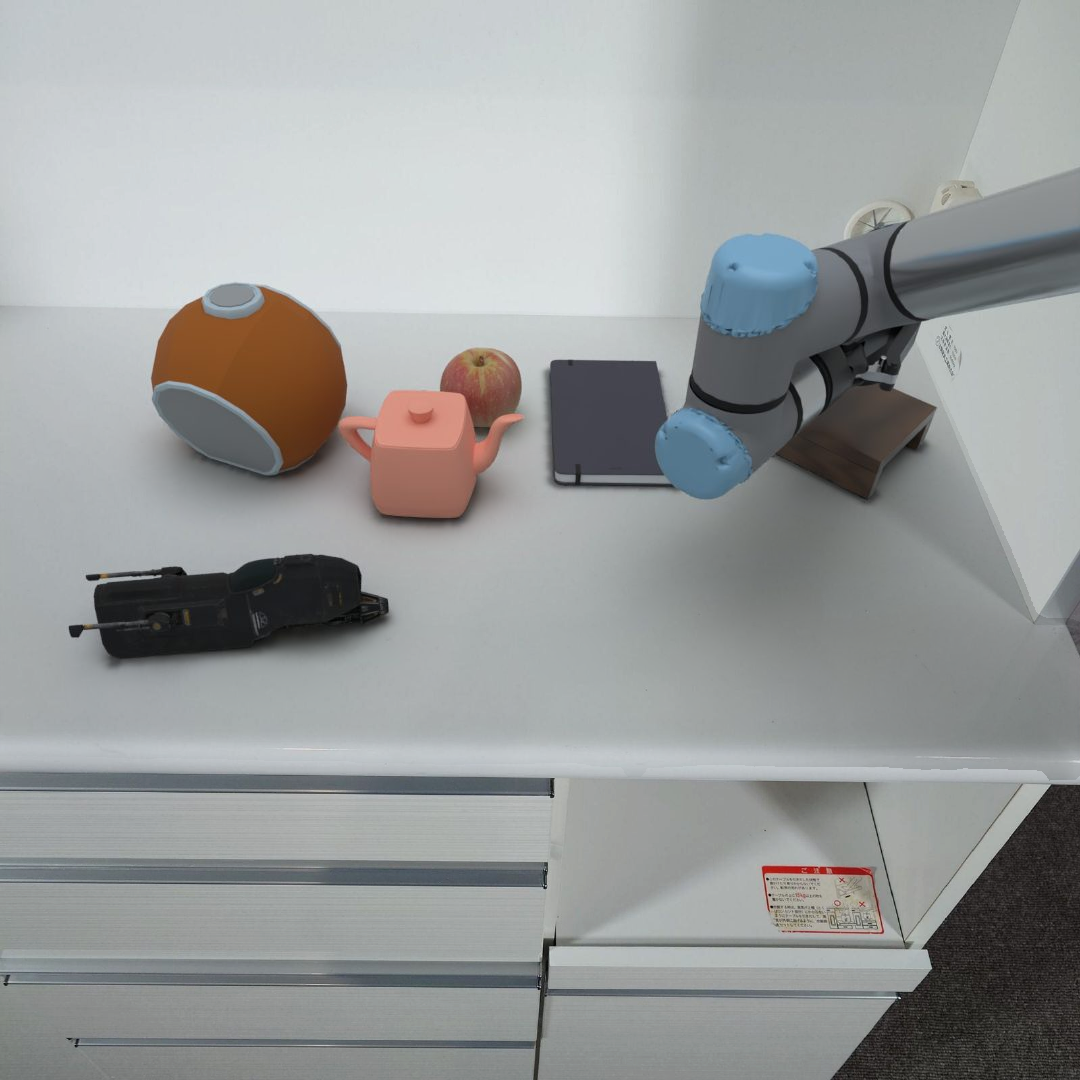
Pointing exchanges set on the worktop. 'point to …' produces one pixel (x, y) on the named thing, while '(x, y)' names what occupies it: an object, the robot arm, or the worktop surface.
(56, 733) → the worktop surface
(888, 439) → the wooden stand
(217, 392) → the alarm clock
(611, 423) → the notebook
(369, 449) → the teapot
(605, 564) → the worktop surface
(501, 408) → the apple
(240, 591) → the black toy vehicle
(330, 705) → the worktop surface
